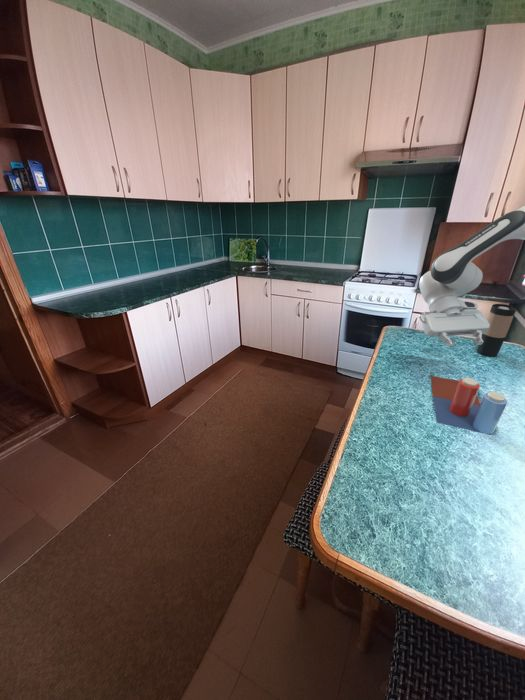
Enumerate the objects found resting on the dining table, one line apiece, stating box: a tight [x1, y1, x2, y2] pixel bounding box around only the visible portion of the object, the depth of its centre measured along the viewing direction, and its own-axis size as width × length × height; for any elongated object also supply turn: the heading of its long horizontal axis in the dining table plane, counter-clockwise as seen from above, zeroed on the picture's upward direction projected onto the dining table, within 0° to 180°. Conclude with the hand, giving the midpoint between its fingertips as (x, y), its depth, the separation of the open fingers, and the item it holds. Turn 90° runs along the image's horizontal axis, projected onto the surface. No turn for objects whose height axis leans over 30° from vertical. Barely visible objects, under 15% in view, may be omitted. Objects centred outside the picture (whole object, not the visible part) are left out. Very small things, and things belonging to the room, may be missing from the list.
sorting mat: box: [430, 375, 492, 436], centre depth 91 cm, size 13×27×1 cm, turn 156°
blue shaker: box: [472, 391, 508, 435], centre depth 78 cm, size 5×5×11 cm
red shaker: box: [449, 377, 481, 417], centre depth 84 cm, size 5×5×11 cm
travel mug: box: [475, 303, 517, 358], centre depth 115 cm, size 8×8×20 cm
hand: (465, 344), depth 91 cm, fingers open, 8 cm apart
